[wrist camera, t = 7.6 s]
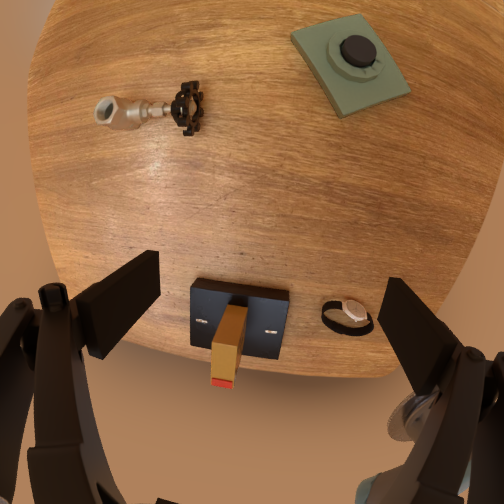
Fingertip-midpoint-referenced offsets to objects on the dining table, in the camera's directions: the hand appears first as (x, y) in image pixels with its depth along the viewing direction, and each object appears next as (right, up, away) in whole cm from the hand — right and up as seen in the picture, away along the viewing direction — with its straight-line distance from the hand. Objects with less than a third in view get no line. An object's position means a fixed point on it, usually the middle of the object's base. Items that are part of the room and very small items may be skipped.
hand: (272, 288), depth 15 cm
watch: (+11, -6, +20) cm, 24 cm away
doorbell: (+11, +25, +11) cm, 29 cm away
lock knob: (-3, -7, +19) cm, 20 cm away
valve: (-13, +19, +15) cm, 28 cm away
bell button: (+10, +23, +7) cm, 27 cm away
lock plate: (-3, -6, +21) cm, 23 cm away
